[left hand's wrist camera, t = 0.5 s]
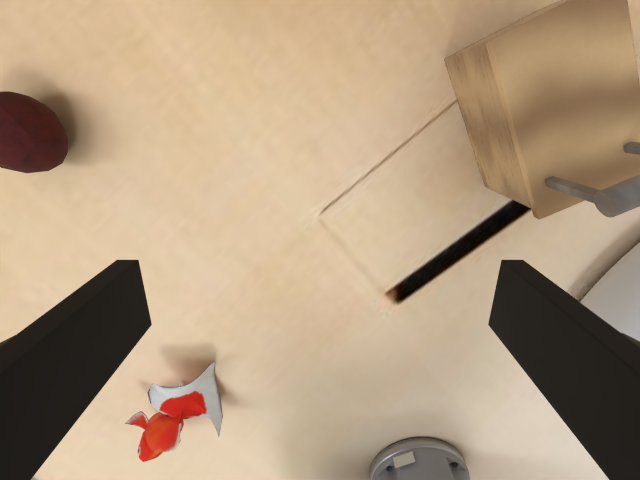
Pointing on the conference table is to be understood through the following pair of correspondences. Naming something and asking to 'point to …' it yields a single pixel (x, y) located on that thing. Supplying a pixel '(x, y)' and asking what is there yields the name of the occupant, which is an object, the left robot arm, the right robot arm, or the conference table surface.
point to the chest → (488, 115)
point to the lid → (573, 105)
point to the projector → (619, 295)
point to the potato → (29, 135)
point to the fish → (177, 413)
